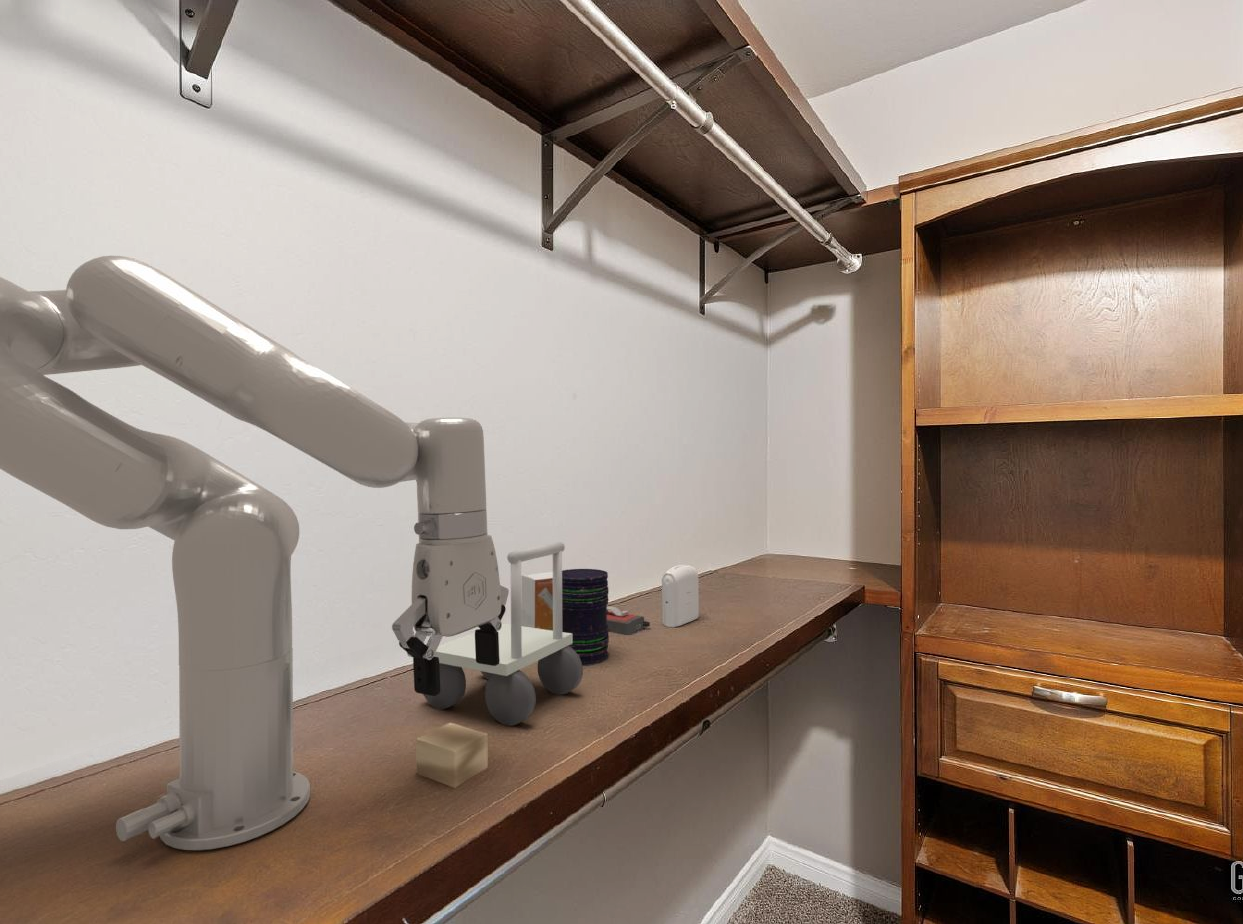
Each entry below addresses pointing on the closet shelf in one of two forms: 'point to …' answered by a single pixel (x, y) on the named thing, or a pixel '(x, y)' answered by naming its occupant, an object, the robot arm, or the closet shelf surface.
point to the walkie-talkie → (624, 622)
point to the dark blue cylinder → (586, 613)
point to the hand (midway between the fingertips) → (459, 677)
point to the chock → (451, 754)
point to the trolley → (514, 653)
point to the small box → (537, 601)
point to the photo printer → (680, 595)
